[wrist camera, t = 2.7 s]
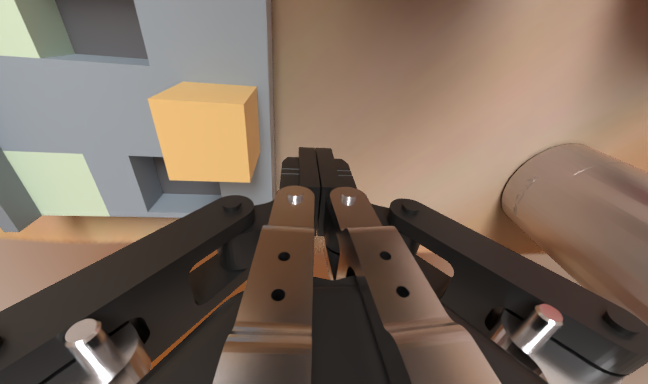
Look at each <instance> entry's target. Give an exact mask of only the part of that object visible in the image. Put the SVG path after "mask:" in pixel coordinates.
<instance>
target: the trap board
mask: <svg viewBox="0 0 648 384" xmlns="http://www.w3.org/2000/svg"><path fill="white" fill-rule="evenodd" d="M181 82H197V83H212V84H227V85H242V86H257V98H258V117H259V135H260V154H259V157H258V160H257V163H256V167H255V170H254V173H253V176H252V179H251V182H250V183H243V182H211V181H178V180H169V177H168V173H167V169H166V166H165V162H164V158H163V154H162V151H161V147H160V143H159V140H158V136H157V132H156V128H155V125H154V121H153V117H152V114H151V110H150V106H149V102H148V98H150V97H152V96H154V95H156V94H158V93H161V92H163V91H165V90H167V89H169V88H171V87H173V86H175V85H177V84H179V83H181ZM230 195H241V196H245V197H248V198H249V199H251V200H252V201H253V203H254V205H260V204H265V203H268V202H270V201H272V200H274V199H275V195H276V182H275V140H274V97H273V55H272V12H271V0H0V227H1V229H2V230H3V231H4V232H20V231H21V230H23V229H24V228H25V227H27V226H28V225H30V224H31V223H32V222H34V221H35V220H36V219H38V218H39V217H40V216H42V215H54V216H112V217H169V218H182V217H184V216H186V215H188V214H190V213H192V212H194V211H196V210H198V209H200V208H202V207H203V206H205V205H207V204H209V203H211V202H213V201H215V200H217V199H219V198H221V197H225V196H230Z"/></svg>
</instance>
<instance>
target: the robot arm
mask: <svg viewBox="0 0 648 384" xmlns="http://www.w3.org/2000/svg"><path fill="white" fill-rule="evenodd" d="M502 208H503V210H504V212H505V214H506V215H507V216H508V217H509V218H510V219H511V220H512V221H513V222H514V223H515V224H516V225H517V226H518V227H520V228H521V229H522V230H523V231H524V232H525V233H526V234H527V235H528V236H529V237H530V238H531V239H532V240H533V241H534V242H535V243H536V244H537V245H538V246H539V247H540V248H542V249H543V250H544V251H545V252H546V253H547V254H548V255H549V256H550V257H551V258H552V259H553V260H554V261H555V262H557V263H558V264H559V265H560V266H561V267H562V268H563V269H564V270H565V271H566V272H567V273H568V274H569V275H570V276H571V277H572V278H574V279H575V280H576V281H577V282H578V283H579V284H580V285H581V286H582V287H581V286H579V285H577V284H576V283H574V282H571V281H570V280H568V279H566V278H564V277H562V276H560V275H558V274H556V273H554V272H552V271H550V270H549V269H546V268H545V267H543V266H541V265H539V264H537V263H535V262H533V261H531V260H529V259H527V258H525V257H523V256H521V255H520V254H518V253H516V252H514V251H512V250H510V249H508V248H506V247H504V246H502V245H500V244H498V243H496V242H494V241H493V240H491V239H489V238H487V237H485V236H483V235H481V234H479V233H477V232H475V231H473V230H471V229H469V228H467V227H466V226H464V225H462V224H460V223H458V222H456V221H454V220H452V219H450V218H448V217H446V216H444V215H442V214H440V213H438V212H437V211H435V210H433V209H431V208H429V207H427V206H425V205H423V204H421V203H419V202H417V201H414V200H410V199H396V200H394V201H393V202H392V203H391V204H390V208H386V207H381V206H377V205H373V204H371V203H370V201H369V200H368V198H367V196H366V194H365V193H363V192H362V191H360V190H358V189H357V187H356V185H355V182H354V179H353V176H352V174H351V171H350V168H349V165H348V164H347V163H346V162H345V161H344V160H342V159H334V157H333V153H332V149H331V148H316V149H315V148H305V147H299V158H297V157H287V158H286V159H285V160H284V161H283V162H282V170H281V180H280V190H278V191H277V193H276V195H275V199H274V200H272V201H270V202H268V203H265V204H260V205H254V203H253V201H252V200H251V199H249V198H248V197H245V196H241V195H230V196H225V197H221V198H219V199H217V200H215V201H213V202H211V203H209V204H207V205H205V206H203V207H202V208H200V209H198V210H196V211H194V212H192V213H190V214H188V215H186V216H184V217H182V218H180V219H178V220H176V221H174V222H173V223H171V224H169V225H167V226H165V227H163V228H161V229H159V230H157V231H155V232H153V233H151V234H149V235H147V236H146V237H144V238H142V239H140V240H138V241H136V242H134V243H132V244H130V245H128V246H126V247H125V248H122V249H120V250H118V251H117V252H115V253H113V254H111V255H109V256H107V257H105V258H103V259H101V260H99V261H97V262H95V263H93V264H91V265H90V266H88V267H86V268H84V269H82V270H80V271H78V272H76V273H74V274H72V275H70V276H68V277H67V278H64V279H62V280H61V281H59V282H57V283H55V284H53V285H51V286H49V287H47V288H45V289H43V290H41V291H39V292H37V293H36V294H34V295H32V296H30V297H28V298H26V299H24V300H22V301H20V302H18V303H16V304H14V305H12V306H11V307H8V308H6V309H5V310H3V311H1V312H0V384H622V380H623V379H624V378H625V377H627V376H628V375H629V374H631V373H633V372H634V371H636V370H637V369H638V368H640V367H641V366H643V365H644V364H646V363H647V362H648V172H645V171H643V170H641V169H638V168H636V167H634V166H632V165H630V164H627V163H625V162H623V161H620V160H618V159H616V158H613V157H611V156H609V155H606V154H604V153H602V152H599V151H597V150H595V149H592V148H590V147H587V146H584V145H581V144H565V145H559V146H556V147H553V148H550V149H547V150H545V151H543V152H541V153H539V154H537V155H536V156H534V157H533V158H531V159H530V160H528V161H527V162H526V163H525V164H524V165H522V166H521V167H520V168H519V169H518V170H517V171H516V172H515V174H514V175H513V176H512V177H511V179H510V180H509V182H508V183H507V185H506V187H505V189H504V192H503V196H502ZM316 231H317V234H318V236H324V238H325V243H324V255H325V259H326V264H327V268H328V272H329V277H330V280H327V279H322V278H317V277H313V263H314V236H316ZM420 244H421V245H422V246H424V247H425V248H427V249H429V250H430V251H432V252H433V253H435V254H437V255H438V256H440V257H442V258H443V259H445V260H446V261H448V262H449V263H450V264H451V265H452V267H453V269H454V276H453V277H450V276H448V275H446V274H445V273H443V272H442V271H440V270H439V269H437V268H435V267H434V266H432V265H431V264H429V263H428V262H426V261H425V260H423V259H422V258H420V257H419V256H417V255H416V253H417V250H418V248H419V245H420ZM216 249H217V251H218V254H216V255H215V256H214V257H212V258H211V259H209V260H208V261H206V262H205V263H203V264H202V265H200V266H199V267H198V268H196V269H195V270H193V271H192V272H190V270H191V269H192V267H193V266H194V265H195V264H196V263H197V262H199V261H200V260H202V259H203V258H205V257H206V256H208V255H209V254H211V253H212V252H214V251H215V250H216ZM189 272H190V273H189ZM246 280H247V283H246V286H245V290H244V291H242V292H240V293H238V294H237V295H235V296H233V297H231V298H230V299H229V300H227V301H226V302H224V303H223V304H222V305H221V306H220V307H218V308H217V309H216V310H215V311H214V312H213V313H212V314H211V315H210V316H209V317H208V318H206V319H205V320H204V321H203V322H202V323H201V324H200V325H199V326H198V327H197V328H196V329H195V330H194V331H193V332H191V333H190V334H189V335H188V336H187V337H186V338H185V339H184V340H183V341H182V342H181V343H180V344H178V345H177V346H176V347H175V348H174V349H173V350H172V351H171V352H170V353H169V354H168V355H167V356H166V357H164V358H163V359H162V360H161V361H160V362H159V363H158V364H157V365H156V366H155V367H154V368H153V369H152V370H150V367H151V362H152V361H153V360H155V359H156V358H157V357H158V356H159V355H161V354H162V353H163V352H164V351H165V350H166V349H167V348H168V347H170V346H171V345H172V344H173V343H174V342H175V341H177V340H178V339H179V338H180V337H181V336H182V335H183V334H185V333H186V332H187V331H188V330H189V329H191V328H192V327H193V326H194V325H195V324H196V323H197V322H199V321H200V320H201V319H202V318H203V317H204V316H205V315H207V314H208V313H209V312H210V311H211V310H212V309H213V308H215V307H216V306H217V305H218V304H219V303H220V302H222V301H223V300H224V299H225V298H226V297H227V296H229V295H230V294H231V293H232V292H233V291H234V290H235V289H236V288H238V287H239V286H240V285H241V284H242V283H243V282H245V281H246Z"/></svg>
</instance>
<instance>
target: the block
mask: <svg viewBox="0 0 648 384" xmlns="http://www.w3.org/2000/svg"><path fill="white" fill-rule="evenodd" d="M148 102H149V106H150V110H151V114H152V117H153V121H154V125H155V128H156V132H157V136H158V140H159V143H160V147H161V151H162V154H163V158H164V162H165V166H166V169H167V173H168V177H169V180H178V181H211V182H243V183H250V182H251V179H252V176H253V173H254V170H255V167H256V163H257V160H258V157H259V154H260V135H259V117H258V98H257V86H242V85H227V84H212V83H197V82H181V83H179V84H177V85H175V86H173V87H171V88H169V89H167V90H165V91H163V92H161V93H158V94H156V95H154V96H152V97H150V98H148Z"/></svg>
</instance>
